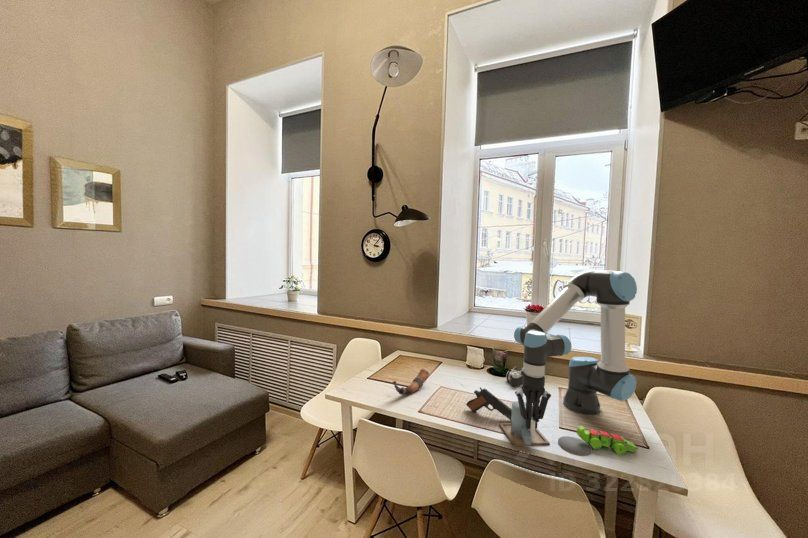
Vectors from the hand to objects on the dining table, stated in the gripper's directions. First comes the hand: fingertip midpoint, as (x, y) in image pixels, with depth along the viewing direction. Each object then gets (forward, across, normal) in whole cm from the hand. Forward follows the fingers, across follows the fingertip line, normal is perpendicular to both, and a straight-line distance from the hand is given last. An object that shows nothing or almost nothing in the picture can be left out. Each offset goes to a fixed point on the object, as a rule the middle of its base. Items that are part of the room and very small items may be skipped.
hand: (530, 436), depth 118 cm
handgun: (+6, +10, -23) cm, 26 cm away
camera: (+3, -20, -58) cm, 61 cm away
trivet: (+3, -16, +1) cm, 16 cm away
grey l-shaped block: (+3, +1, -6) cm, 7 cm away
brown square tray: (+3, 0, -7) cm, 7 cm away
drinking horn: (+3, +41, -45) cm, 61 cm away
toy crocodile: (+3, -27, +2) cm, 27 cm away
